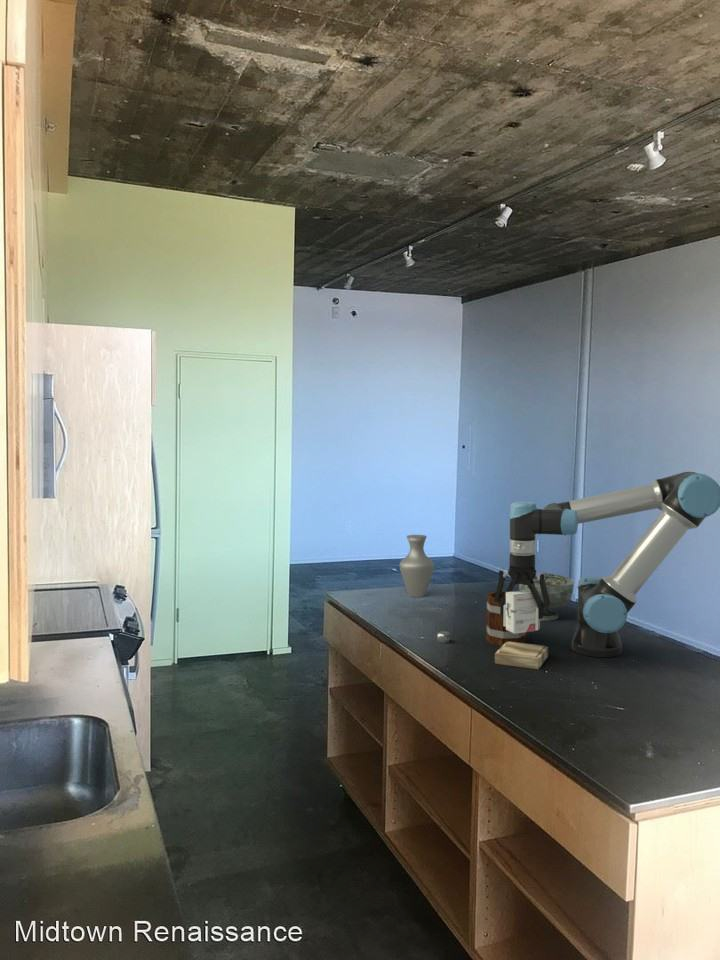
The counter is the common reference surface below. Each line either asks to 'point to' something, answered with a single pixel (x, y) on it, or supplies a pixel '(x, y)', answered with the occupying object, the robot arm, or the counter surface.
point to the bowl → (553, 592)
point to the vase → (416, 567)
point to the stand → (521, 655)
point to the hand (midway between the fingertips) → (521, 627)
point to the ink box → (520, 611)
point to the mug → (499, 624)
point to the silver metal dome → (443, 637)
